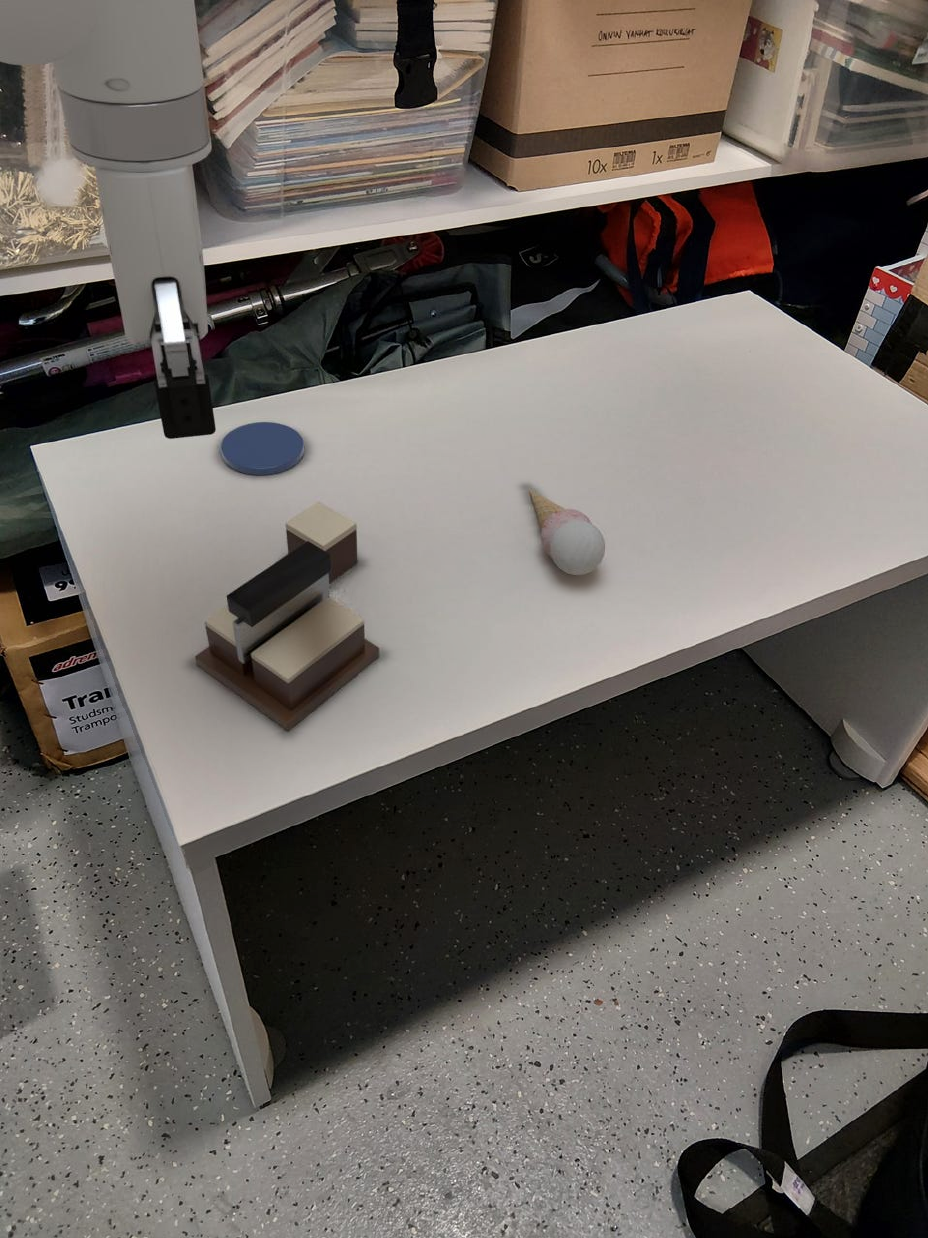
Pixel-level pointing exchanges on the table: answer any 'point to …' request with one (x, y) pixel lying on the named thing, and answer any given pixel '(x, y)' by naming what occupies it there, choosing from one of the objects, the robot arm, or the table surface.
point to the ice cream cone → (569, 537)
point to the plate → (262, 448)
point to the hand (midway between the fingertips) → (184, 393)
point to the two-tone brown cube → (325, 536)
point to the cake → (290, 660)
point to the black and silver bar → (278, 597)
